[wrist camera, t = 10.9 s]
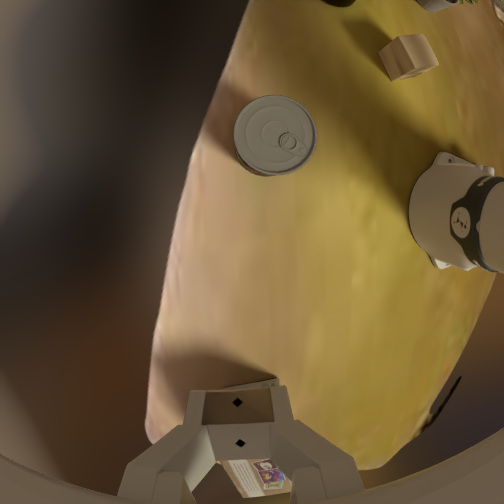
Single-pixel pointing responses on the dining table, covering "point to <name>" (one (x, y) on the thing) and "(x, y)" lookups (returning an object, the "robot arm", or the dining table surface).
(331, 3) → the supplement bottle
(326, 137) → the dining table surface
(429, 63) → the oak block
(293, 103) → the canned tomato
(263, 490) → the tea box
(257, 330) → the dining table surface
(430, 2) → the house plant
